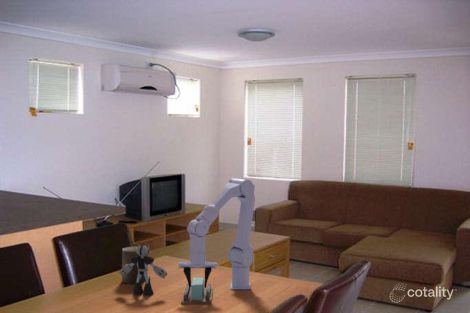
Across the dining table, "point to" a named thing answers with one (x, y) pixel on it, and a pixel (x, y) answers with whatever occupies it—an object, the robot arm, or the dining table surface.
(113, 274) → the dining table surface
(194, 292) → the tall teal pillar block
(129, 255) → the pillar candle
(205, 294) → the cradle
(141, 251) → the robot
